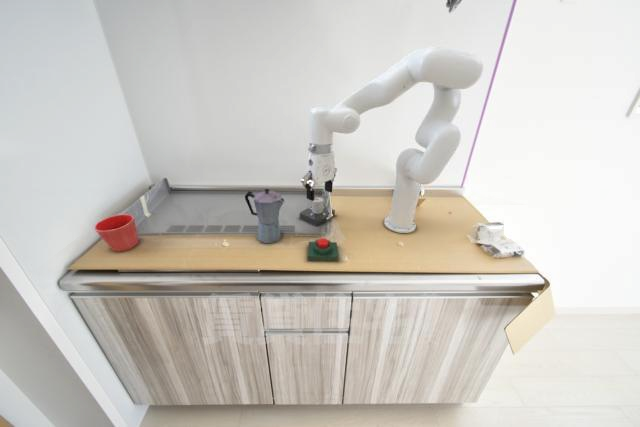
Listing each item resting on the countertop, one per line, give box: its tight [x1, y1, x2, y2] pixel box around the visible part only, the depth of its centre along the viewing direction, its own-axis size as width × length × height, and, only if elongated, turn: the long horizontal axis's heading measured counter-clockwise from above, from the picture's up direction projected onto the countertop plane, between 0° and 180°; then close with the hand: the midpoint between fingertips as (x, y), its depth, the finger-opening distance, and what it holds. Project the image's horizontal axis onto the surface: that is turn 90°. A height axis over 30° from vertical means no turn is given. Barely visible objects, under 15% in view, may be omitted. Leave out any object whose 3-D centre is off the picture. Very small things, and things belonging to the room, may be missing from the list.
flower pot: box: [94, 213, 139, 252], centre depth 83 cm, size 11×11×10 cm
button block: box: [307, 239, 339, 263], centre depth 82 cm, size 10×8×4 cm
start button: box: [317, 237, 329, 248], centre depth 81 cm, size 4×4×2 cm
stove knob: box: [311, 196, 324, 214], centre depth 102 cm, size 5×5×6 cm
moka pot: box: [244, 188, 286, 244], centre depth 87 cm, size 10×15×20 cm, turn 78°
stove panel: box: [299, 205, 336, 227], centre depth 105 cm, size 12×10×3 cm
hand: (319, 195), depth 87 cm, fingers open, 9 cm apart
